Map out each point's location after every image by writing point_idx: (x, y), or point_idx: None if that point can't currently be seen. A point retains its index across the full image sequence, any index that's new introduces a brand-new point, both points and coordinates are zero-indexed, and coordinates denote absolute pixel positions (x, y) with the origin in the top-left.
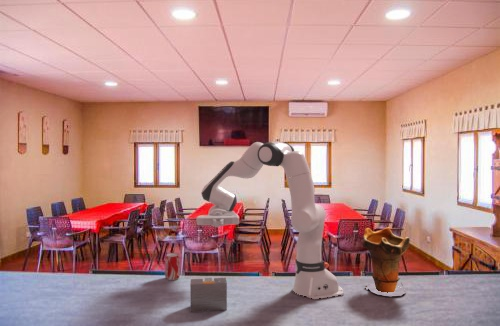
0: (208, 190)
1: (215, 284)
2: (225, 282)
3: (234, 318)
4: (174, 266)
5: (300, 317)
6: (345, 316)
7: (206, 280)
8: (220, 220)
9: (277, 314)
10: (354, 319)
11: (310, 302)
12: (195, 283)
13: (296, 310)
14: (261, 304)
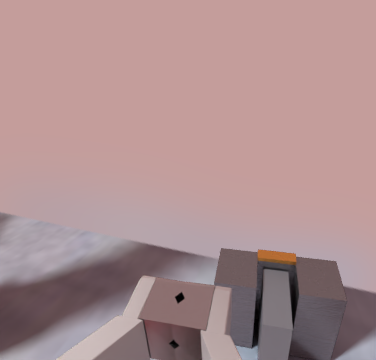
0: None
1: (254, 254)
2: (224, 251)
3: (212, 267)
4: None
5: (90, 243)
6: (22, 230)
7: (284, 303)
8: (135, 321)
9: (120, 261)
10: (22, 222)
11: (10, 287)
12: (320, 264)
13: (73, 265)
14: (122, 310)
